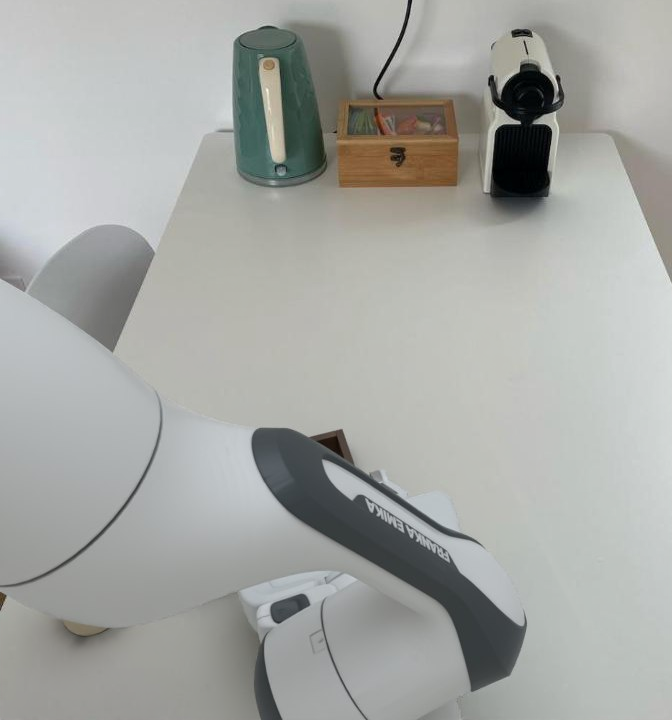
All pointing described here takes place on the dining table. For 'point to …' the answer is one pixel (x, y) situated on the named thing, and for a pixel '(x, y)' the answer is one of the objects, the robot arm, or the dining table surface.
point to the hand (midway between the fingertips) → (328, 487)
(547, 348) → the dining table surface
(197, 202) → the dining table surface
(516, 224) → the dining table surface
